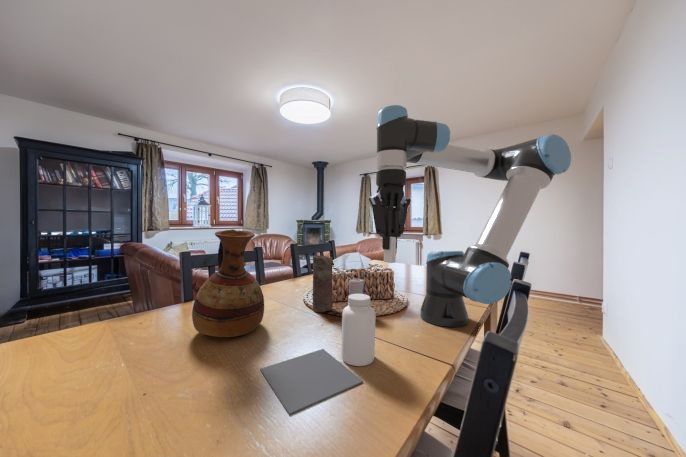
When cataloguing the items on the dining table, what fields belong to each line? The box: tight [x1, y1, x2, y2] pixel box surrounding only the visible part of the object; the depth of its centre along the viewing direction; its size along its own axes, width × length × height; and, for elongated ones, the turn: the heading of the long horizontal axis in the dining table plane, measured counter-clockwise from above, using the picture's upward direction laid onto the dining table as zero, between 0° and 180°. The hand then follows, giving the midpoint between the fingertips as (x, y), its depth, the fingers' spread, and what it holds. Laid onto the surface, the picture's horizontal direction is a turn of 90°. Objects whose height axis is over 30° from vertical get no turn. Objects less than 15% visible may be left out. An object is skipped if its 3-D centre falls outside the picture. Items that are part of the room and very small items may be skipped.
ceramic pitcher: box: [191, 229, 265, 338], centre depth 78 cm, size 20×20×30 cm
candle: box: [312, 254, 334, 313], centre depth 96 cm, size 8×7×20 cm
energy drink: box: [348, 278, 365, 296], centre depth 92 cm, size 5×5×12 cm
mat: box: [259, 348, 364, 416], centre depth 55 cm, size 16×16×1 cm
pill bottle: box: [340, 293, 377, 367], centre depth 62 cm, size 8×8×15 cm
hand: (389, 261), depth 68 cm, fingers closed
